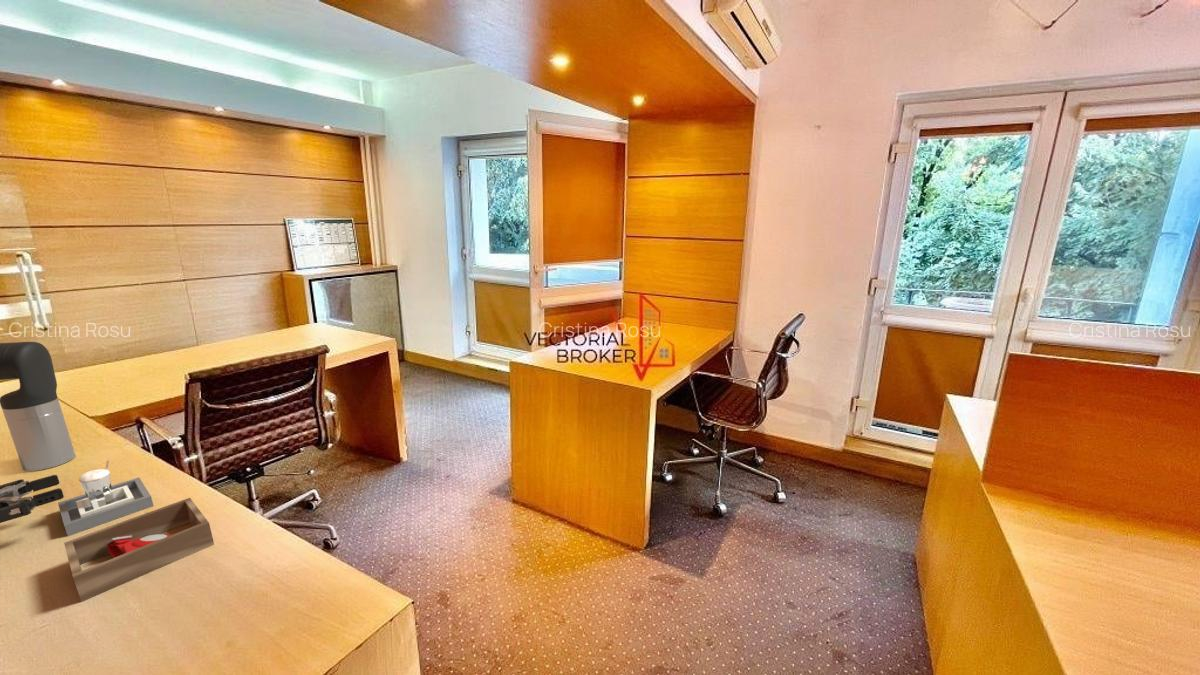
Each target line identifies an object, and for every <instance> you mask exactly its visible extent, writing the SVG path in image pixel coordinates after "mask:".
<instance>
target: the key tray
mask: <svg viewBox="0 0 1200 675" xmlns="http://www.w3.org/2000/svg"><path fill="white" fill-rule="evenodd" d="M188 523H190V524H191V525H192V526H191V527H189V528H186V529H183V530H181V531H178V532H176V533H172V534H169V535H170V536H168V537H165V538H163V539H160V540H158V541H155V542H153V543H150V544H148V545H145V546H143V547H140V548H138V549H135V550H133V551H130V552H128V553H125V554H123V555H120V556H118V557H115V558H113V557H112V558H111V559H109V560H106V561H103V562H99V563H97V564H96V565H93V566H90V567H87V568H86V569H82V566H81V565H83V564H86V563H88V562H91V561H94V560H95V559H98V558H101V557H104V556H106V555H110V553H109V551H108V545H104V544H105V543H106V542H108V541H109V540H111V539H112V538H116V537H122V536H132V537H131V538H130V539H129V540H134V539H137V538H140V537H143V536H147V535H151V534H164V533H165V532H168V531H170V530H173V529H175V528H178V527H181V526H182V525H183V526H184V525H185V524H188ZM211 529H212V528H211V525H210V522H209V521H208V519H207V518H206V517H205V515H204V514H203V512H201V509H199V507H198V506H197V505H196V503H195V502H194V501H193V500H192V498H191V497H188V498H184V499H183V500H179V501H177V502H174V503H171V504H168V505H165V506H163V507H160V508H157V509H154V510H152V511H149V512H146V513H143V514H140V515H138V516H135V517H132V518H128V519H127V520H123V521H121V522H118V523H115V524H113V525H109V526H107V527H104V528H102V529H98V530H95V531H93V532H90V533H87V534H84V535H82V536H81V535H80V536H79V537H76V538H73V539H70V540H67V541H65V542H63V545H64V549H65V553H66V556H67V559H68V564H69V567H70V571H71V574H72V578H73V581H74V584H75V587H76V590H77V593H78V596H79V599H80V602H84V601H86V600H90V599H91V598H93V597H96V596H99V595H101V594H103V593H105V592H107V591H110V590H112V589H115V588H116V587H119V586H122V585H124V584H125V583H127V582H128V583H129V582H130V581H133V580H135V579H137V578H140V577H143V576H144V575H146V574H149V573H151V572H154V571H155V570H158V569H160V568H162V567H164V566H167V565H169V564H171V563H174V562H176V561H179V560H182V559H184V558H185V557H188V556H191V555H192V554H195V553H197V552H200V551H202V550H204V549H206V548H210V547H211V546H213V545H215V541H214V538H213V537H214V536H213V535H212V534H213V533H212V530H211Z"/></svg>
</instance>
